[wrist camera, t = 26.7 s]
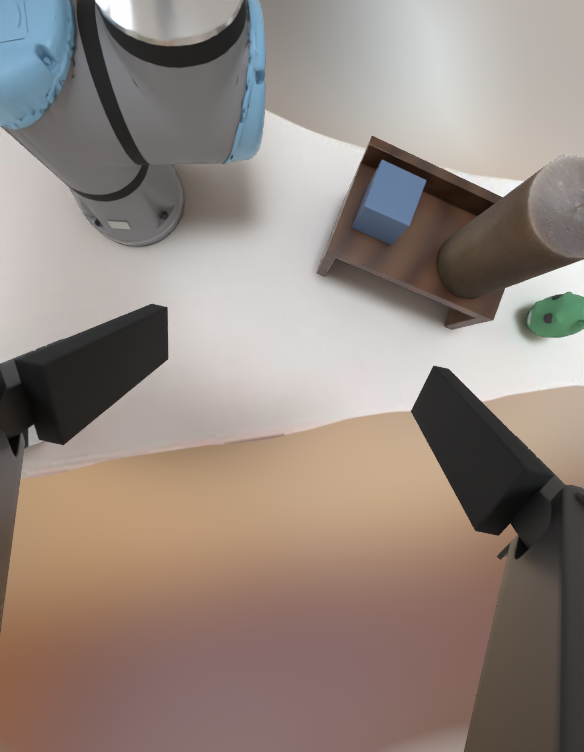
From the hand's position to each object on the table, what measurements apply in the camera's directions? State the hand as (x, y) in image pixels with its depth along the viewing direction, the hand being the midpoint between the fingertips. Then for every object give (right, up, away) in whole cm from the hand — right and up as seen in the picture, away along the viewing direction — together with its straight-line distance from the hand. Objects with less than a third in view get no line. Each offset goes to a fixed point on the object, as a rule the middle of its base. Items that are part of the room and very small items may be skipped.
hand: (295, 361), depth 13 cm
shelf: (+19, +19, +34) cm, 43 cm away
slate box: (+12, +21, +24) cm, 34 cm away
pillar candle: (+25, +15, +25) cm, 39 cm away
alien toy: (+43, +9, +36) cm, 57 cm away
